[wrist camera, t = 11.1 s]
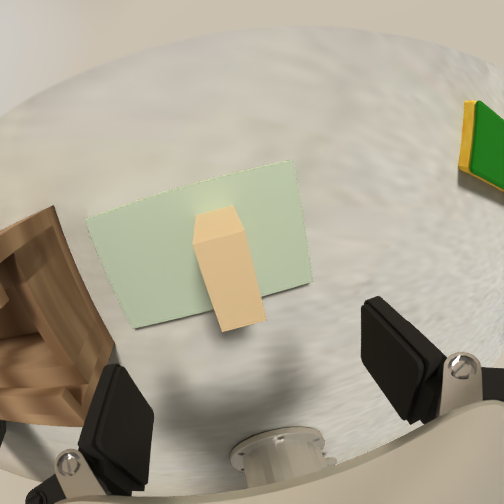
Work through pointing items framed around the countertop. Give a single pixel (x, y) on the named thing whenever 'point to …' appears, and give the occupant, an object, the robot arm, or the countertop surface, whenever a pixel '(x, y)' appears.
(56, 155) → the countertop surface
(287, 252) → the lid
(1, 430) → the graphics card box
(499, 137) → the dish sponge
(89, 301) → the walnut box
